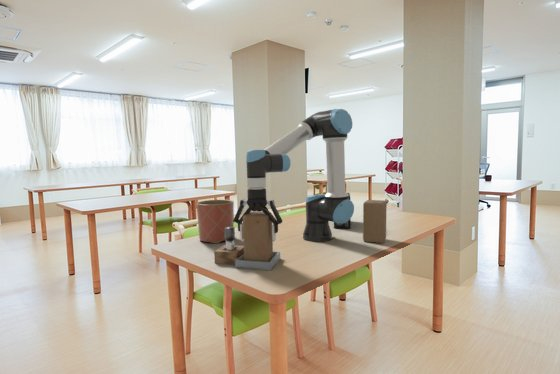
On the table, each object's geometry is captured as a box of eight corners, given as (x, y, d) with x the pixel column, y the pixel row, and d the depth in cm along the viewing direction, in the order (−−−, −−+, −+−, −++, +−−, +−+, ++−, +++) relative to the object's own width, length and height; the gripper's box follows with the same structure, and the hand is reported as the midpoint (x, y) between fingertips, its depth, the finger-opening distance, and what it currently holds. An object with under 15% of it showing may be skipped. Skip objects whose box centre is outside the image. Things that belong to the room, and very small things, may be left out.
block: (386, 239, 170) (386, 200, 168) (383, 244, 161) (384, 203, 159) (366, 237, 174) (366, 199, 172) (362, 242, 165) (362, 202, 163)
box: (334, 220, 218) (334, 192, 216) (349, 221, 216) (349, 192, 215) (333, 228, 196) (333, 196, 194) (350, 229, 194) (350, 196, 192)
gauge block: (245, 257, 145) (245, 245, 144) (237, 264, 135) (236, 252, 135) (224, 255, 147) (224, 244, 147) (214, 263, 138) (214, 251, 137)
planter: (217, 246, 163) (216, 205, 161) (190, 241, 173) (188, 203, 171) (242, 237, 179) (240, 200, 177) (215, 233, 189) (214, 198, 187)
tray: (280, 258, 142) (280, 251, 142) (270, 270, 128) (270, 262, 127) (248, 256, 145) (247, 249, 145) (235, 267, 131) (235, 260, 131)
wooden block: (267, 266, 131) (266, 216, 129) (243, 265, 133) (241, 215, 131) (273, 258, 140) (272, 211, 138) (250, 257, 143) (249, 211, 141)
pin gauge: (237, 258, 143) (236, 226, 141) (233, 261, 139) (232, 229, 137) (228, 258, 144) (226, 226, 142) (224, 261, 140) (222, 228, 138)
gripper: (289, 187, 134) (289, 238, 136) (231, 187, 140) (233, 236, 142) (284, 189, 127) (285, 243, 129) (224, 188, 133) (226, 240, 135)
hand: (258, 240), depth 136 cm, fingers open, 13 cm apart
